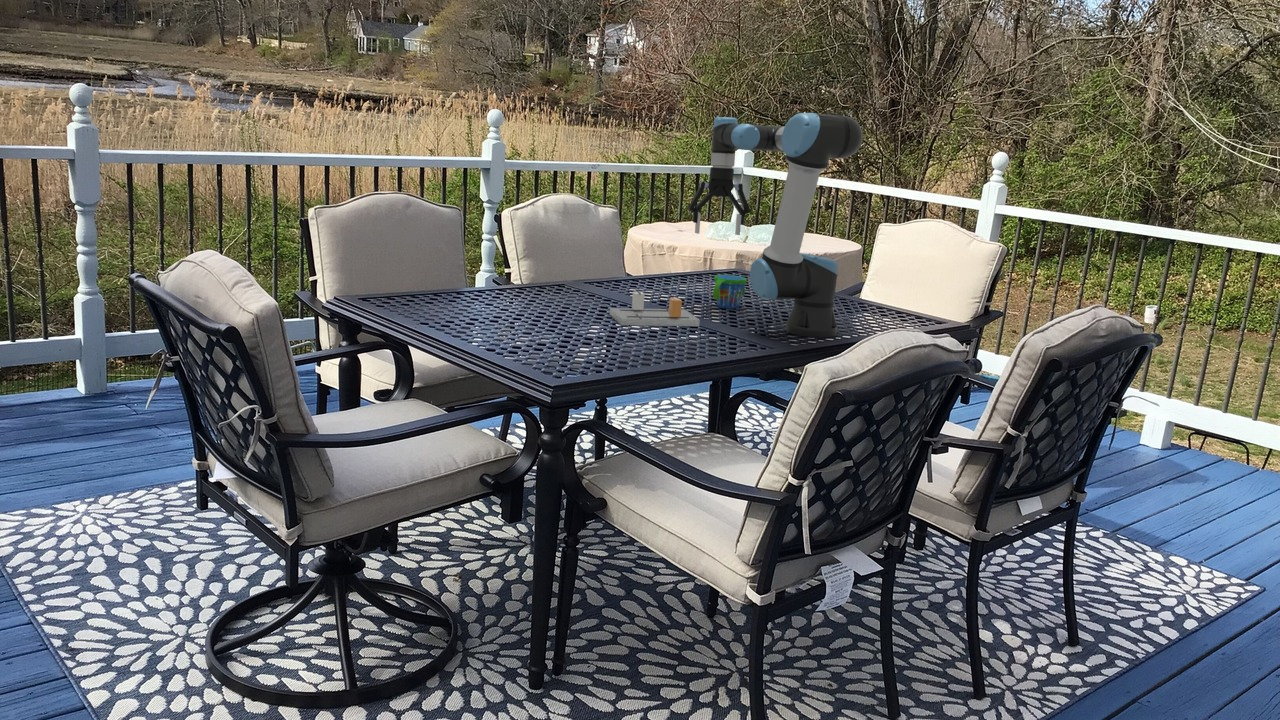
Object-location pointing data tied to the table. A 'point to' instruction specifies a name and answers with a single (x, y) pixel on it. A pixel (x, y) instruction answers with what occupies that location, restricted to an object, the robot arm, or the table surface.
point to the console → (652, 317)
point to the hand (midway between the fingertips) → (717, 234)
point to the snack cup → (729, 290)
